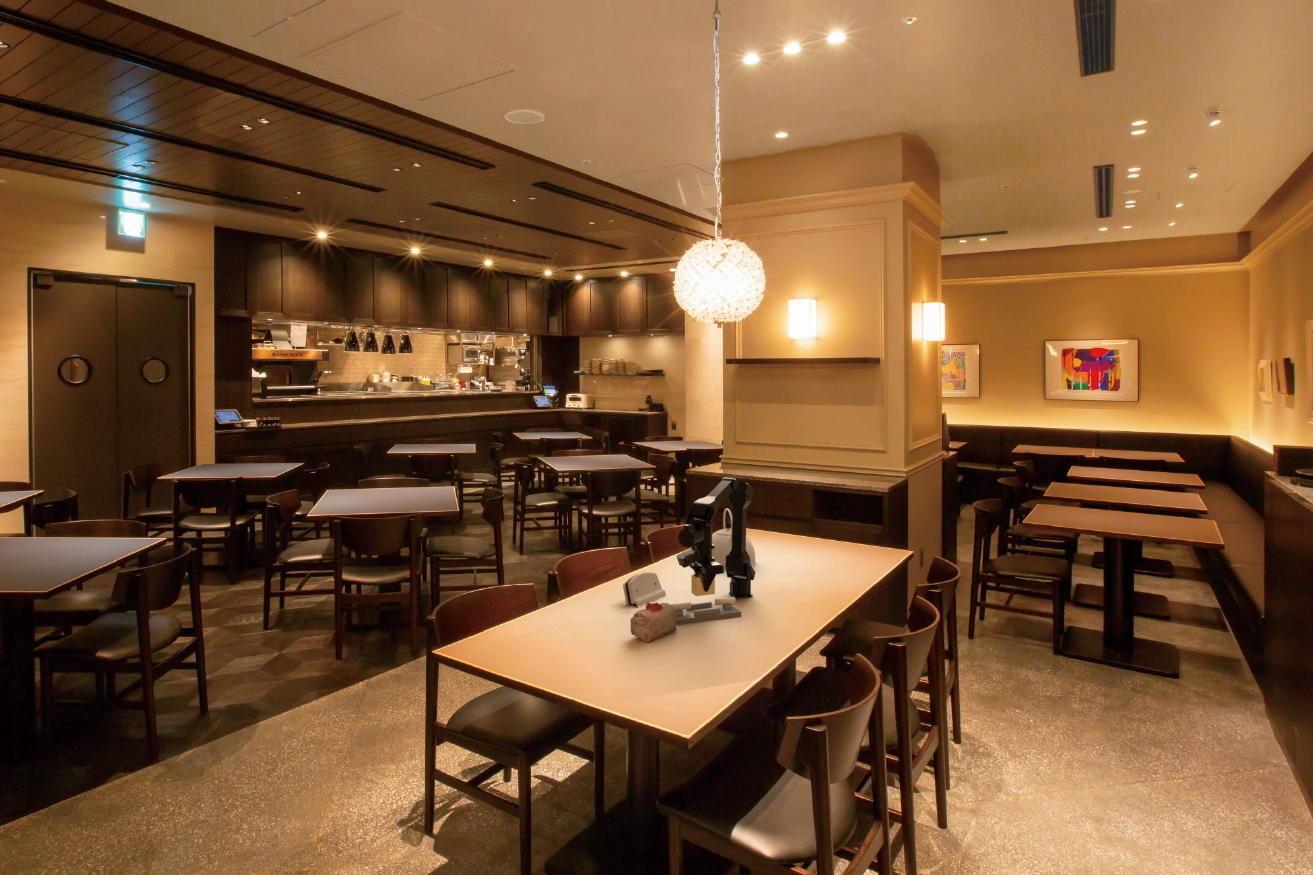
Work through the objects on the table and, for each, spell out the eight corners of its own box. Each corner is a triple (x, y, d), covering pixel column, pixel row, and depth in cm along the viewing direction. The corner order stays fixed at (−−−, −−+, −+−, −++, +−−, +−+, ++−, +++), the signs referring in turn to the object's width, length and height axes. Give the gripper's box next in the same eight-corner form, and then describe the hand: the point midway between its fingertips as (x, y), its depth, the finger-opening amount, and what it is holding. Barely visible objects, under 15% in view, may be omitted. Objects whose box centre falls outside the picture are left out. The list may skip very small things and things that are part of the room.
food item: (648, 645, 199) (648, 611, 198) (628, 638, 204) (627, 605, 203) (679, 632, 209) (679, 600, 208) (658, 626, 214) (658, 594, 213)
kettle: (696, 555, 303) (696, 503, 302) (747, 554, 305) (748, 502, 304) (705, 570, 279) (705, 514, 277) (761, 569, 280) (761, 513, 279)
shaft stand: (727, 606, 232) (727, 592, 232) (741, 616, 223) (741, 601, 223) (665, 614, 225) (665, 599, 225) (676, 624, 216) (676, 609, 215)
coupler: (696, 596, 221) (696, 577, 220) (691, 592, 224) (691, 574, 224) (714, 594, 223) (714, 575, 222) (709, 590, 226) (709, 572, 226)
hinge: (637, 607, 232) (629, 577, 234) (627, 609, 235) (619, 580, 236) (667, 595, 246) (659, 567, 247) (656, 597, 249) (649, 569, 250)
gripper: (668, 537, 228) (669, 584, 229) (691, 550, 211) (691, 600, 212) (700, 534, 232) (700, 580, 233) (724, 546, 215) (724, 596, 216)
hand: (703, 589), depth 223 cm, fingers closed on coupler, 4 cm apart
